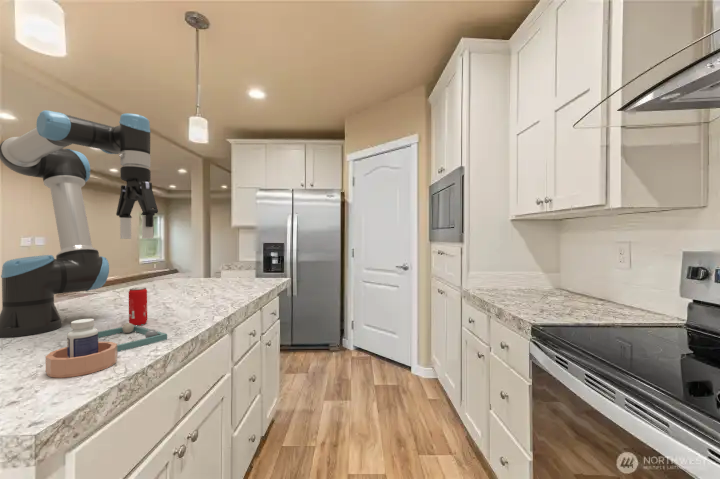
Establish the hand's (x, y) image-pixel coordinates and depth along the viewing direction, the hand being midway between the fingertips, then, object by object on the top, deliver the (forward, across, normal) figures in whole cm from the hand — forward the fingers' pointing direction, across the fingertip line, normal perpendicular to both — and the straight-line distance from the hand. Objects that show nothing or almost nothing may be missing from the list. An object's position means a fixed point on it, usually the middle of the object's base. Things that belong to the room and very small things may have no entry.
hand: (136, 238), depth 101 cm
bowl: (+29, +18, -19) cm, 39 cm away
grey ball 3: (+29, +10, -1) cm, 30 cm away
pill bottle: (+28, +18, -19) cm, 38 cm away
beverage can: (+29, -13, +6) cm, 32 cm away
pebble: (+29, -4, -1) cm, 29 cm away
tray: (+29, +3, -6) cm, 29 cm away
